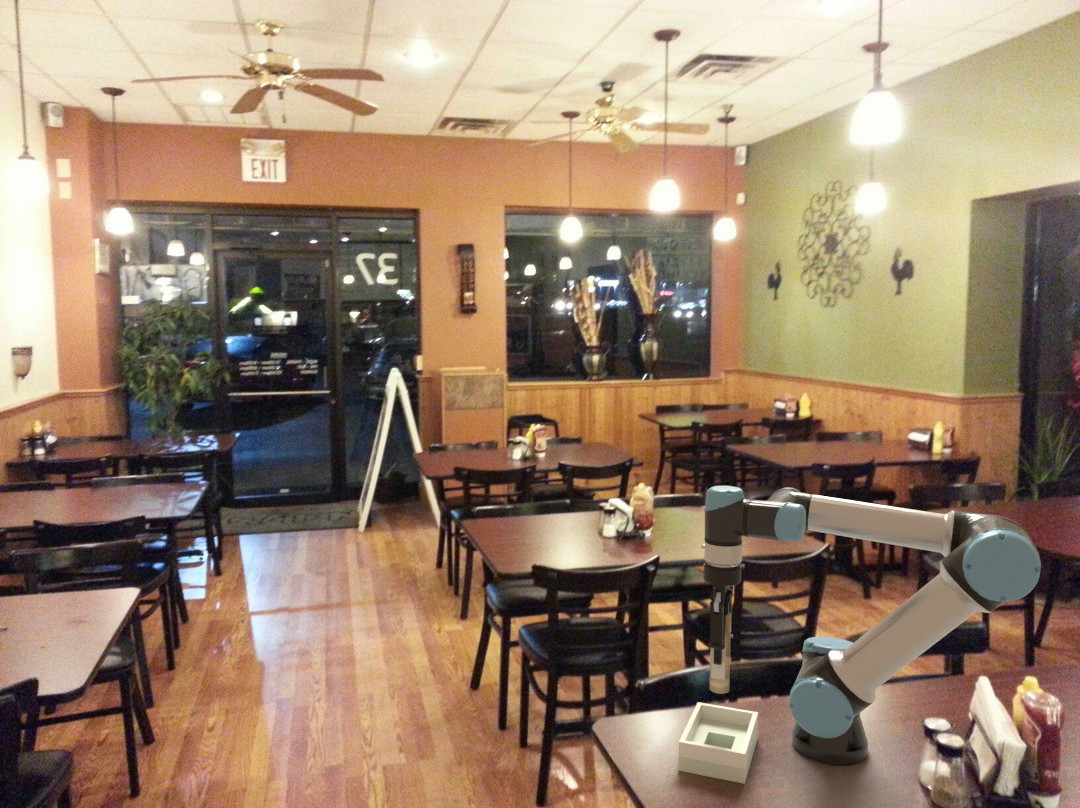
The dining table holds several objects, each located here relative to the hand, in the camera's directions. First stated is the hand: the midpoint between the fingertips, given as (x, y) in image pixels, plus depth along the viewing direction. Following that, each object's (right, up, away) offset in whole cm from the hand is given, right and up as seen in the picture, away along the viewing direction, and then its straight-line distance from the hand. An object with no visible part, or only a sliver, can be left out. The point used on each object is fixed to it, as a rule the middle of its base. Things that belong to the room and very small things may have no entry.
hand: (719, 673), depth 170 cm
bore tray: (0, -17, +1) cm, 17 cm away
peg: (0, -3, 0) cm, 3 cm away
